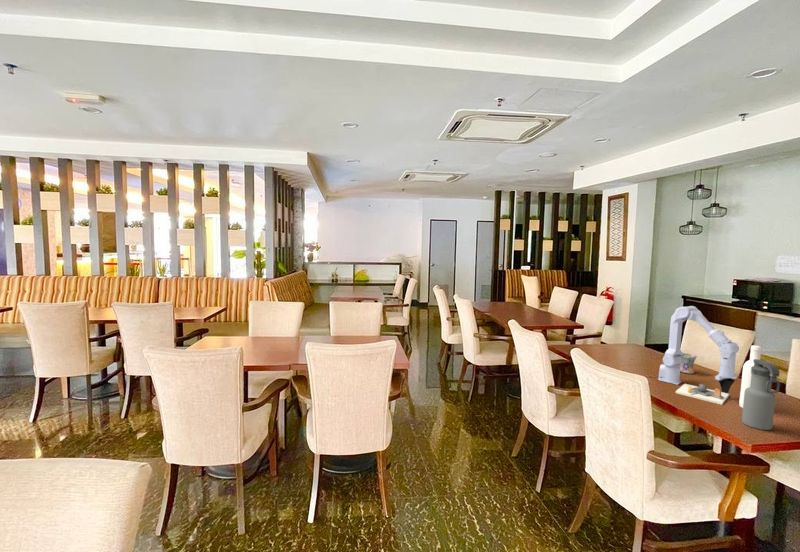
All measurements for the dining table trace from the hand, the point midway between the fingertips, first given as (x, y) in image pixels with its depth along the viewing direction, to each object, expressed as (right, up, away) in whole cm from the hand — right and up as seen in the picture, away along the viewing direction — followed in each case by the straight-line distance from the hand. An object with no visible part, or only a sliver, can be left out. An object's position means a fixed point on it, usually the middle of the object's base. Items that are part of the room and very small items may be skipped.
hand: (724, 392), depth 200 cm
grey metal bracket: (-7, -1, +2) cm, 7 cm away
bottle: (+2, -4, -12) cm, 13 cm away
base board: (-8, -2, +4) cm, 9 cm away
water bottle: (-11, -5, -31) cm, 33 cm away
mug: (+10, 0, +42) cm, 44 cm away
